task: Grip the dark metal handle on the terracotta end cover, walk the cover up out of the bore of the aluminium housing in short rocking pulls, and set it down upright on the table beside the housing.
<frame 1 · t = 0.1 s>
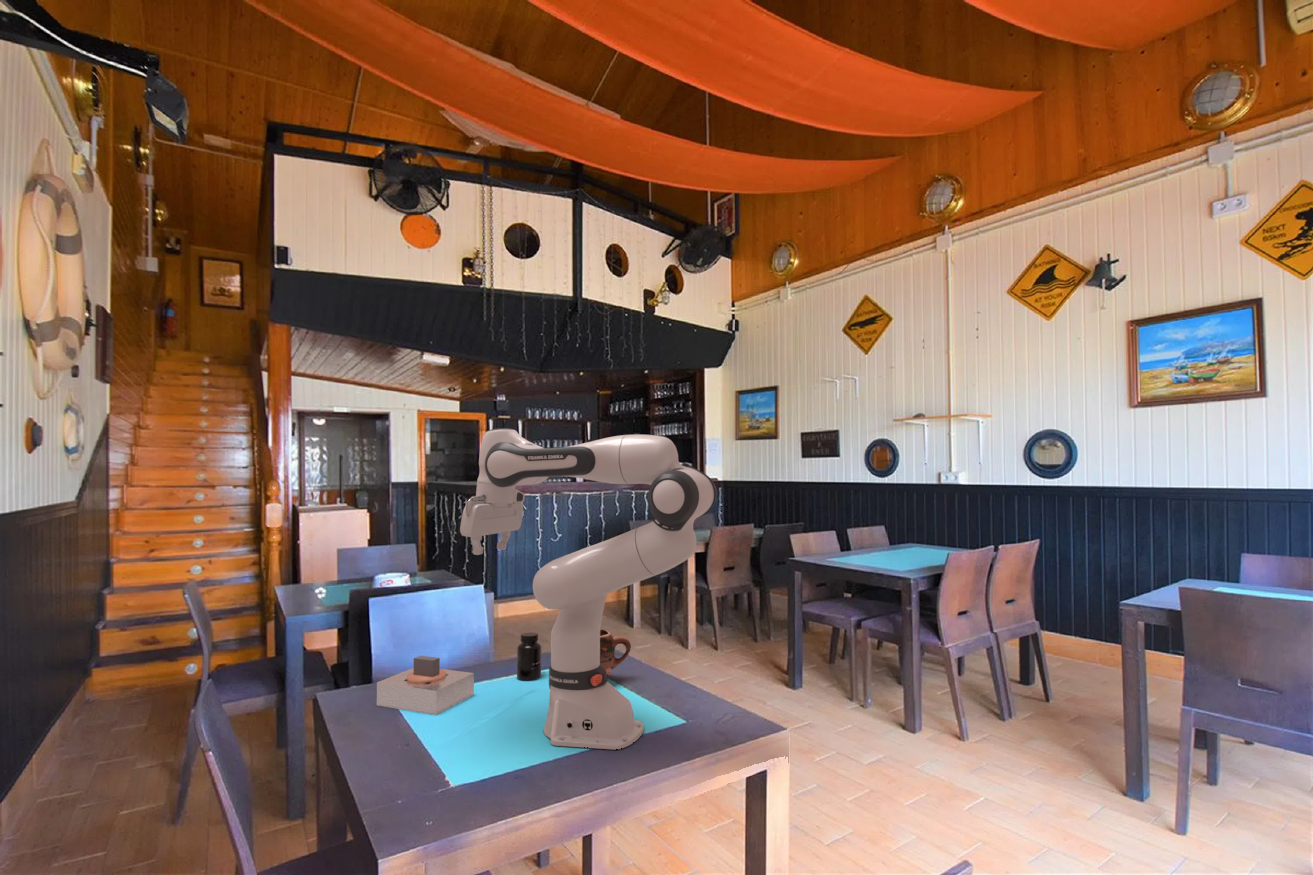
hand: (489, 551, 154), 39 cm above the table, tool pointing down, fingers open, 8 cm apart
housing: (426, 706, 159), on the table
end cover: (426, 699, 159), point 1 cm above the table, touching housing
supplement bottle: (529, 677, 181), on the table
brown ceramic cup shape: (595, 683, 176), on the table
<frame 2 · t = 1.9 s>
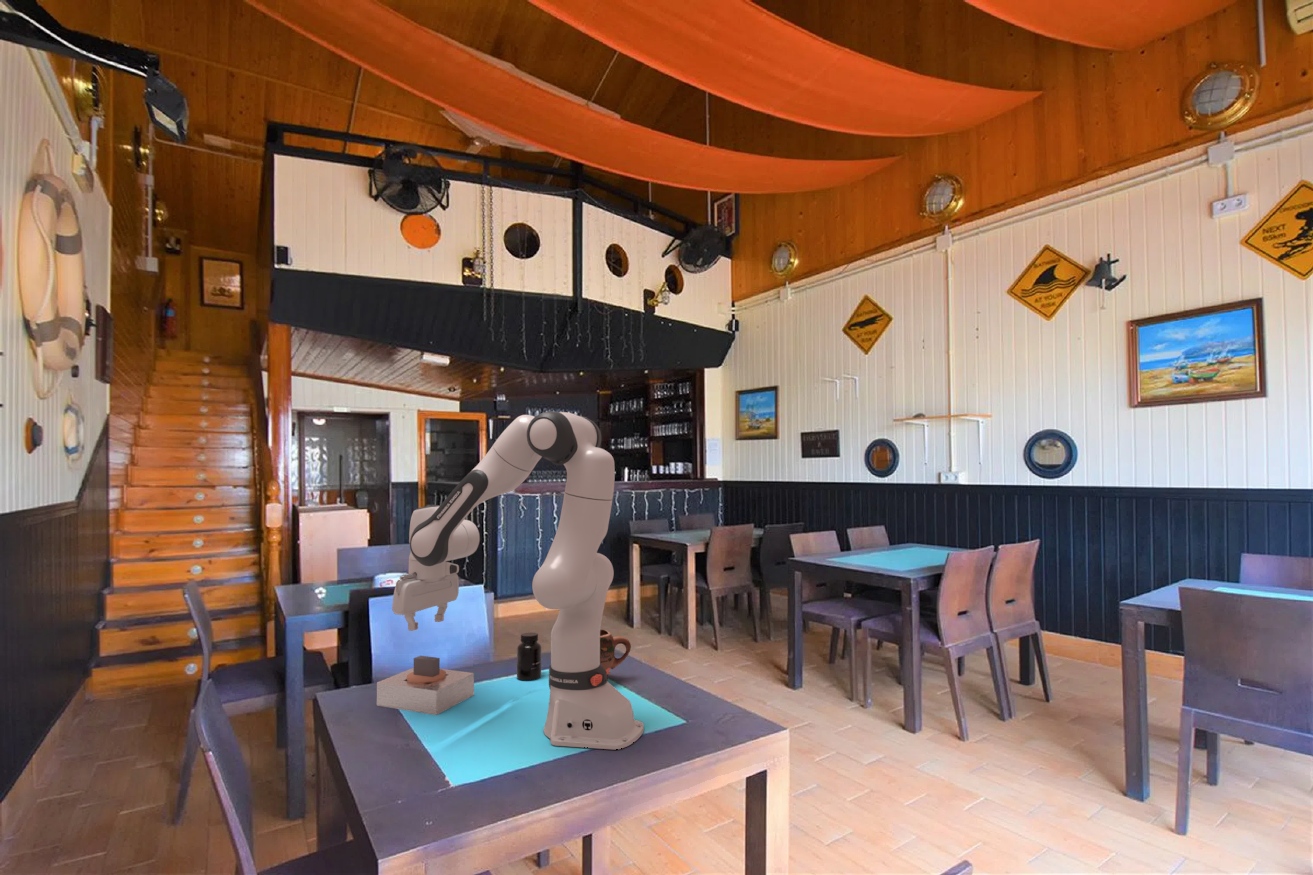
hand: (426, 625, 160), 20 cm above the table, tool pointing down, fingers open, 8 cm apart
nothing on the table moved.
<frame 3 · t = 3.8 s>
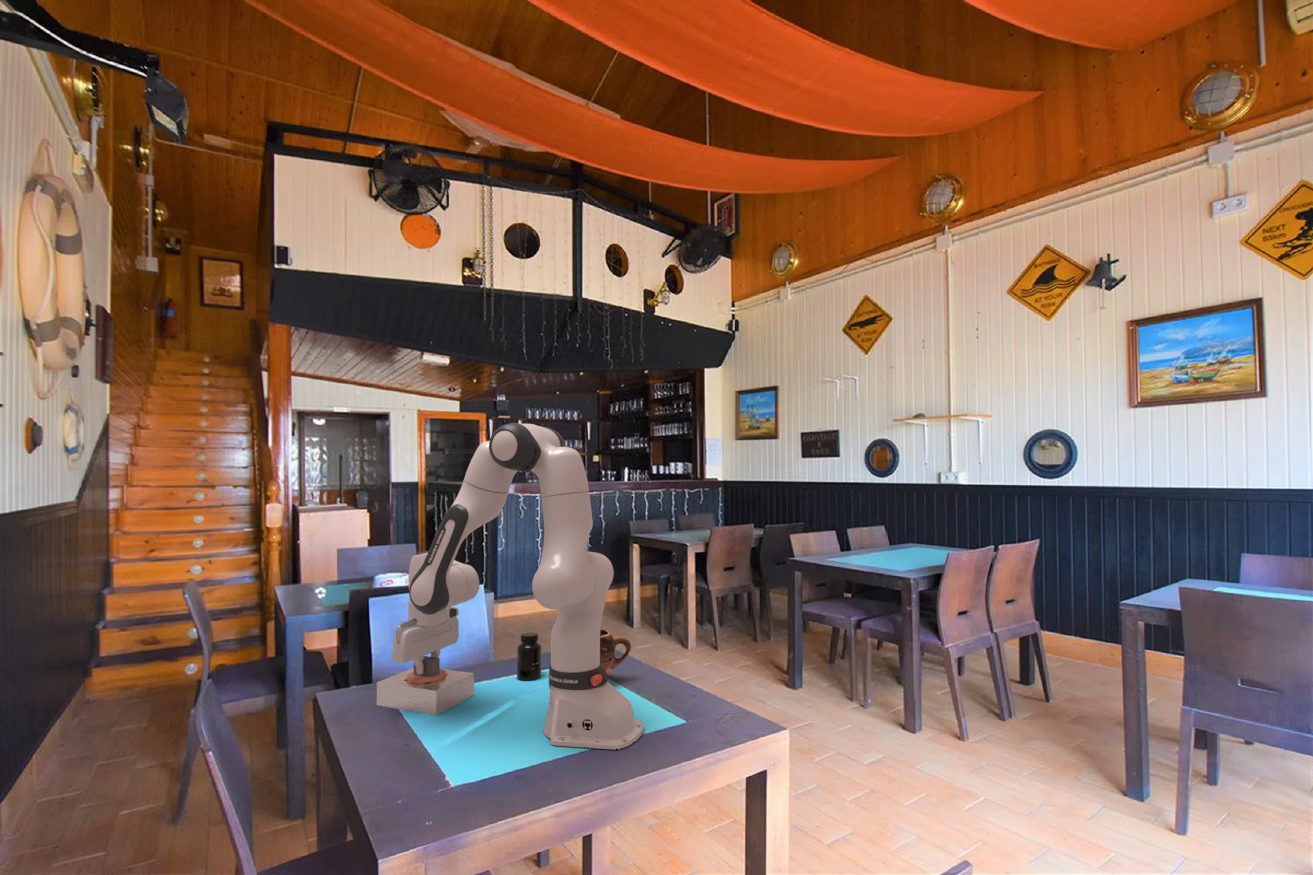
hand: (426, 671, 160), 9 cm above the table, tool pointing down, fingers closed on end cover, 2 cm apart
end cover: (426, 699, 159), point 1 cm above the table, touching gripper, housing
everything else where it was.
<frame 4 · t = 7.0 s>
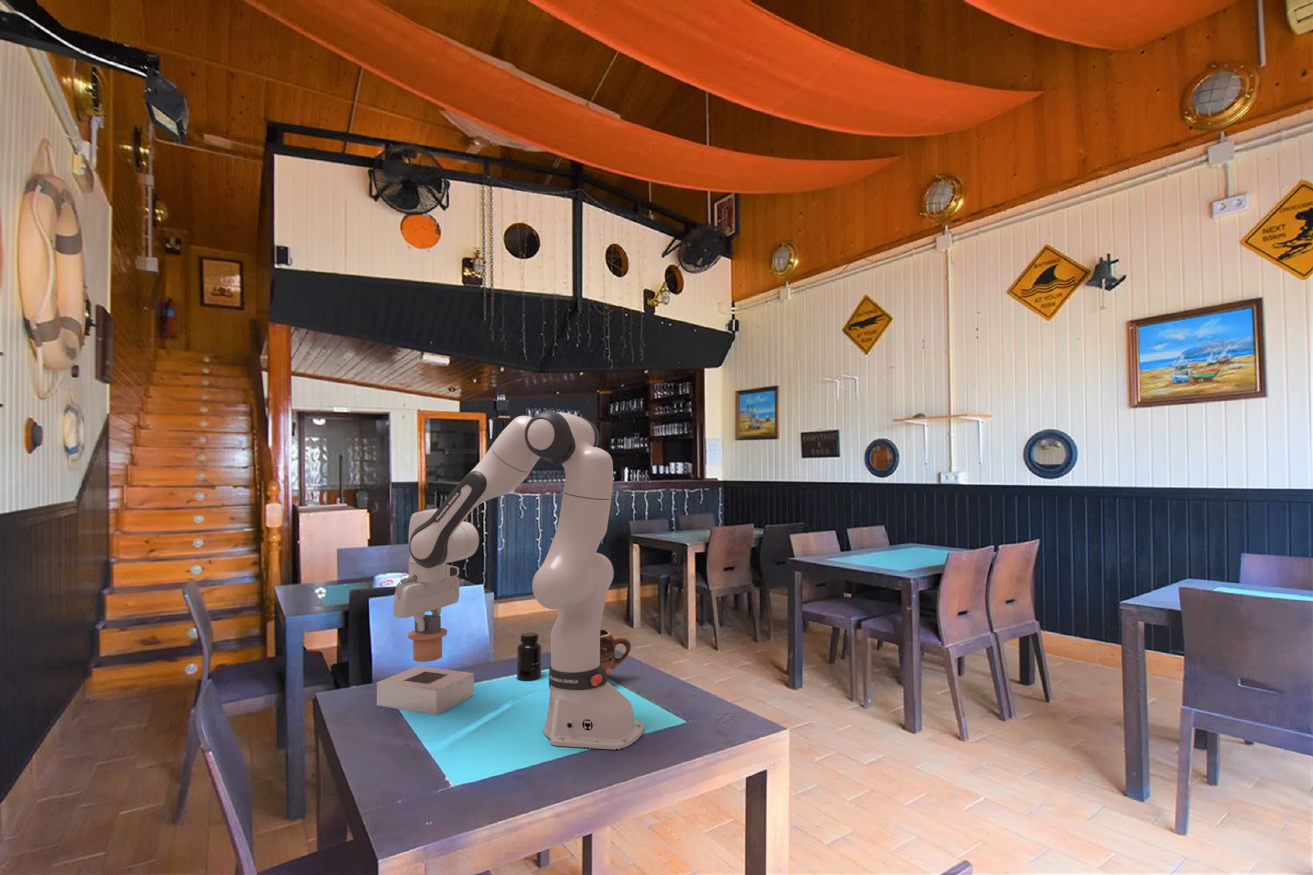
hand: (427, 628, 160), 19 cm above the table, tool pointing down, fingers closed on end cover, 2 cm apart
end cover: (427, 657, 160), point 12 cm above the table, touching gripper
everything else where it was.
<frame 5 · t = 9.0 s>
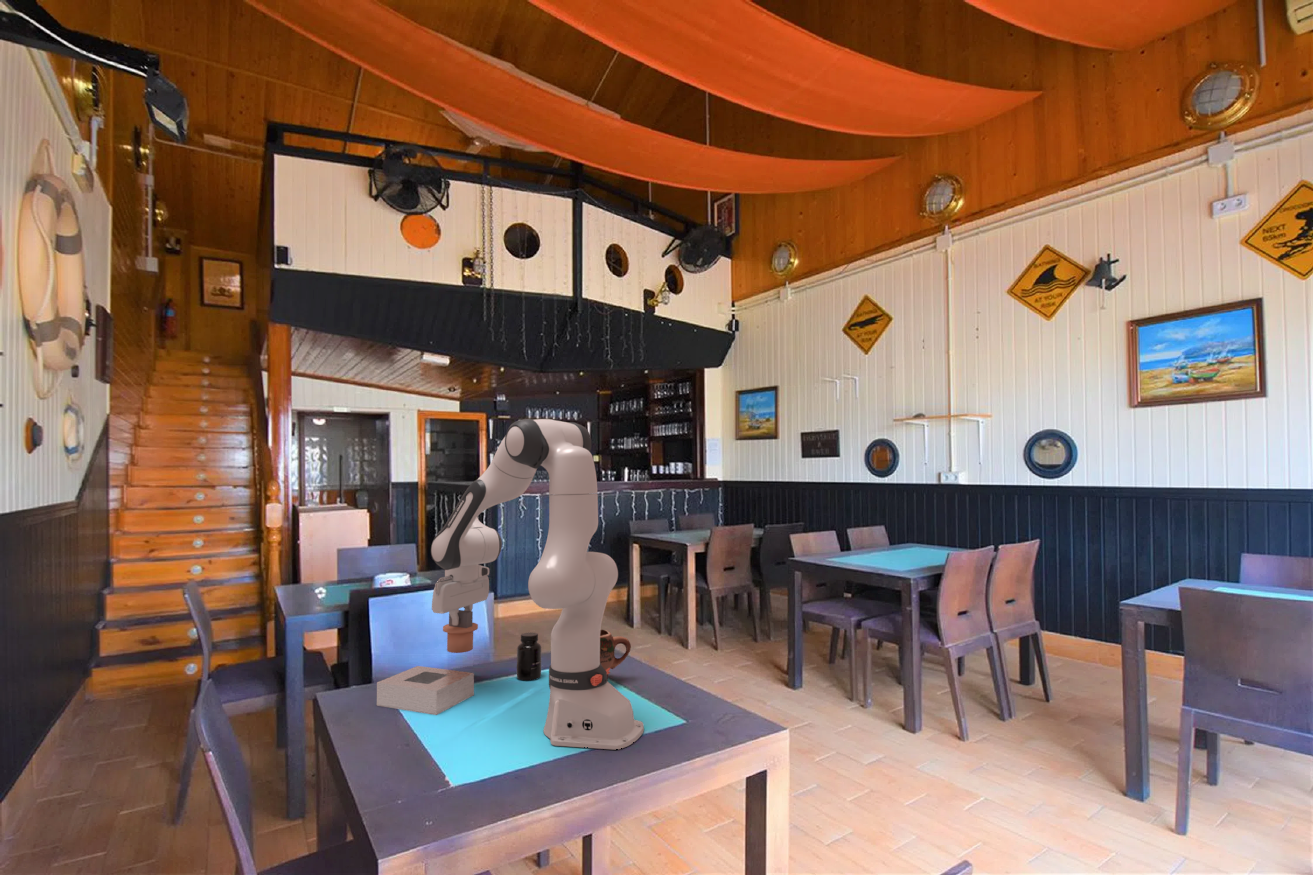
hand: (460, 623, 176), 17 cm above the table, tool pointing down, fingers closed on end cover, 2 cm apart
end cover: (460, 649, 176), point 10 cm above the table, touching gripper
everything else where it was.
when the fingers open (9 cm above the table, at t = 10.4 s): end cover drops 2 cm, on the table.
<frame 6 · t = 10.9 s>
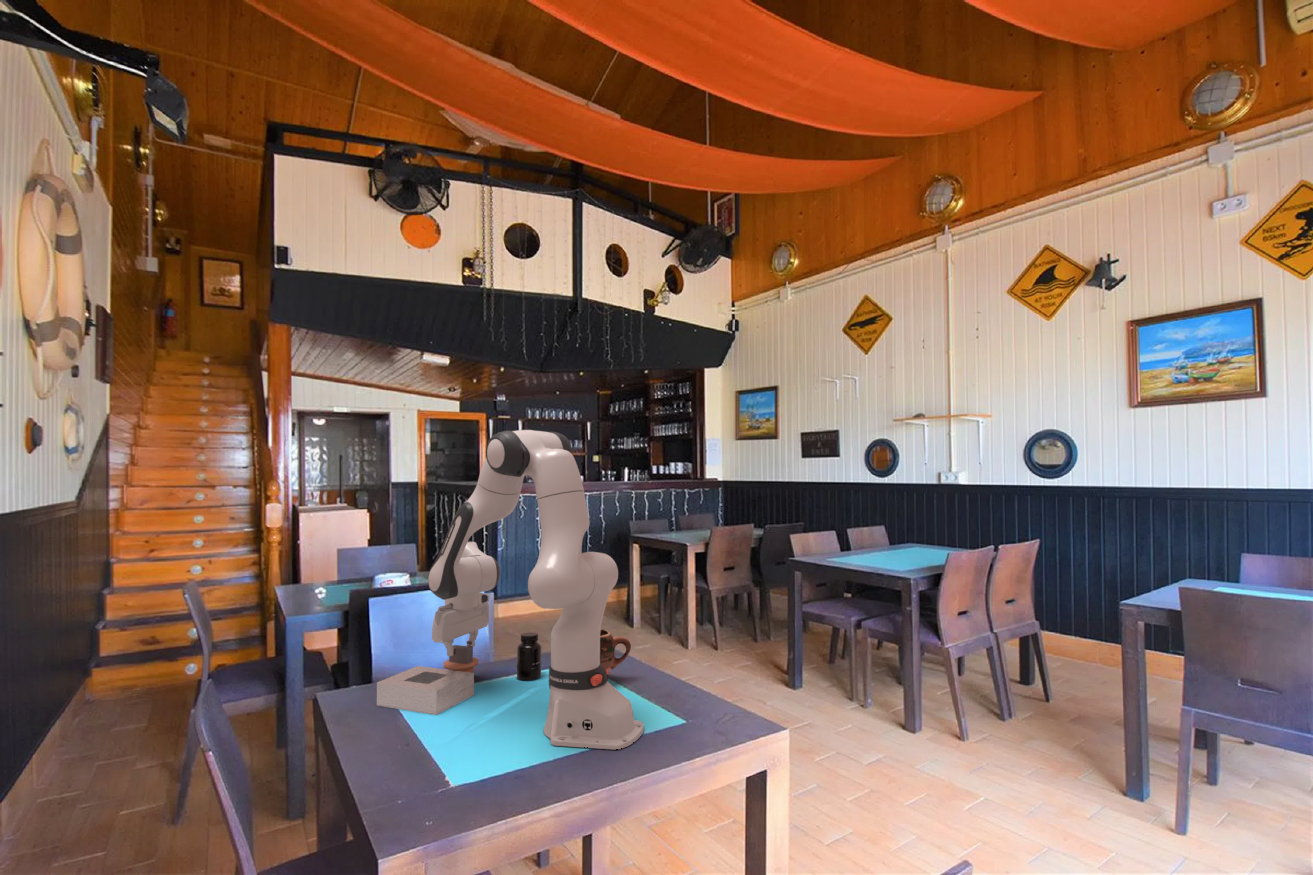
hand: (461, 651, 175), 9 cm above the table, tool pointing down, fingers open, 7 cm apart
end cover: (460, 685, 175), on the table
everything else where it was.
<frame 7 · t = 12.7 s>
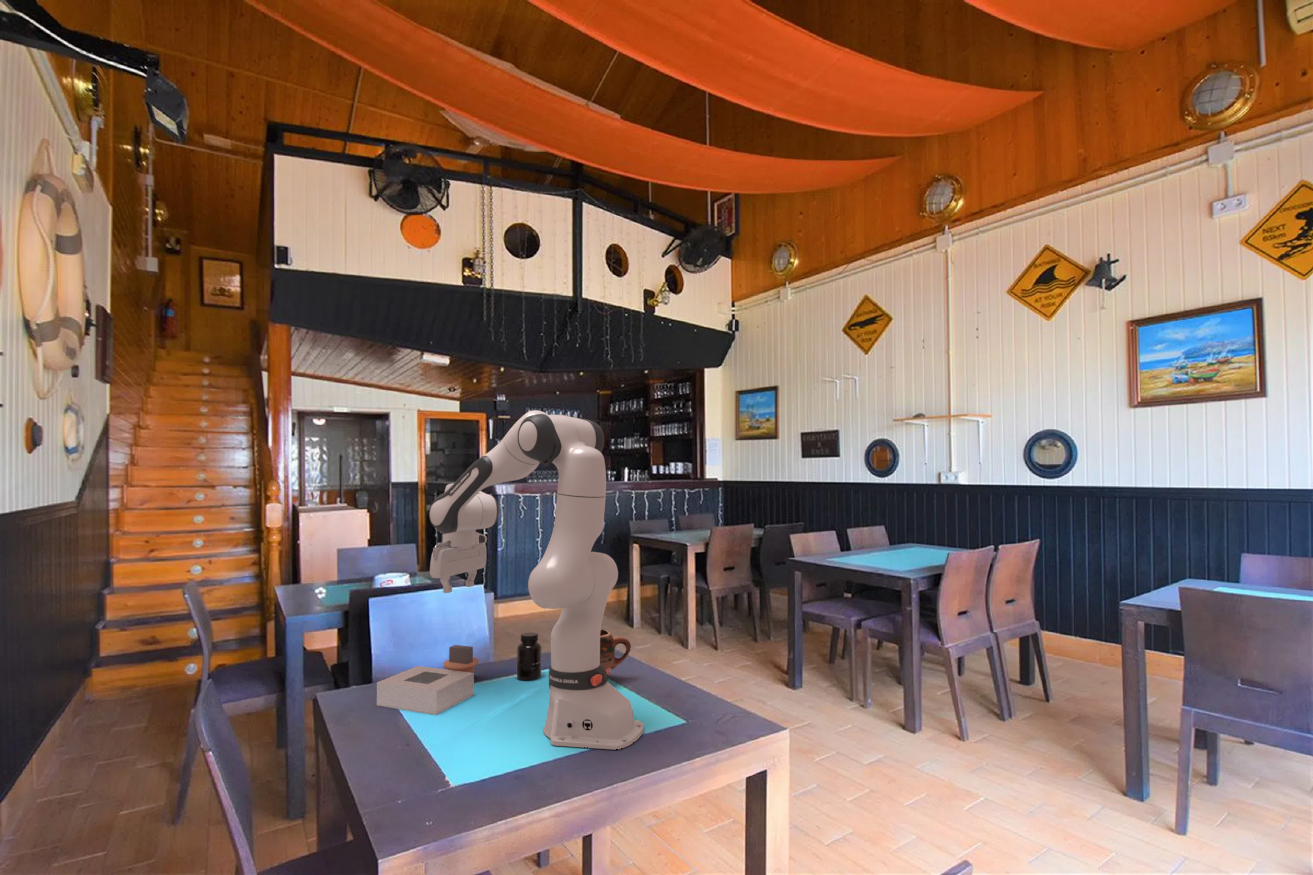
hand: (458, 589, 178), 26 cm above the table, tool pointing down, fingers open, 8 cm apart
nothing on the table moved.
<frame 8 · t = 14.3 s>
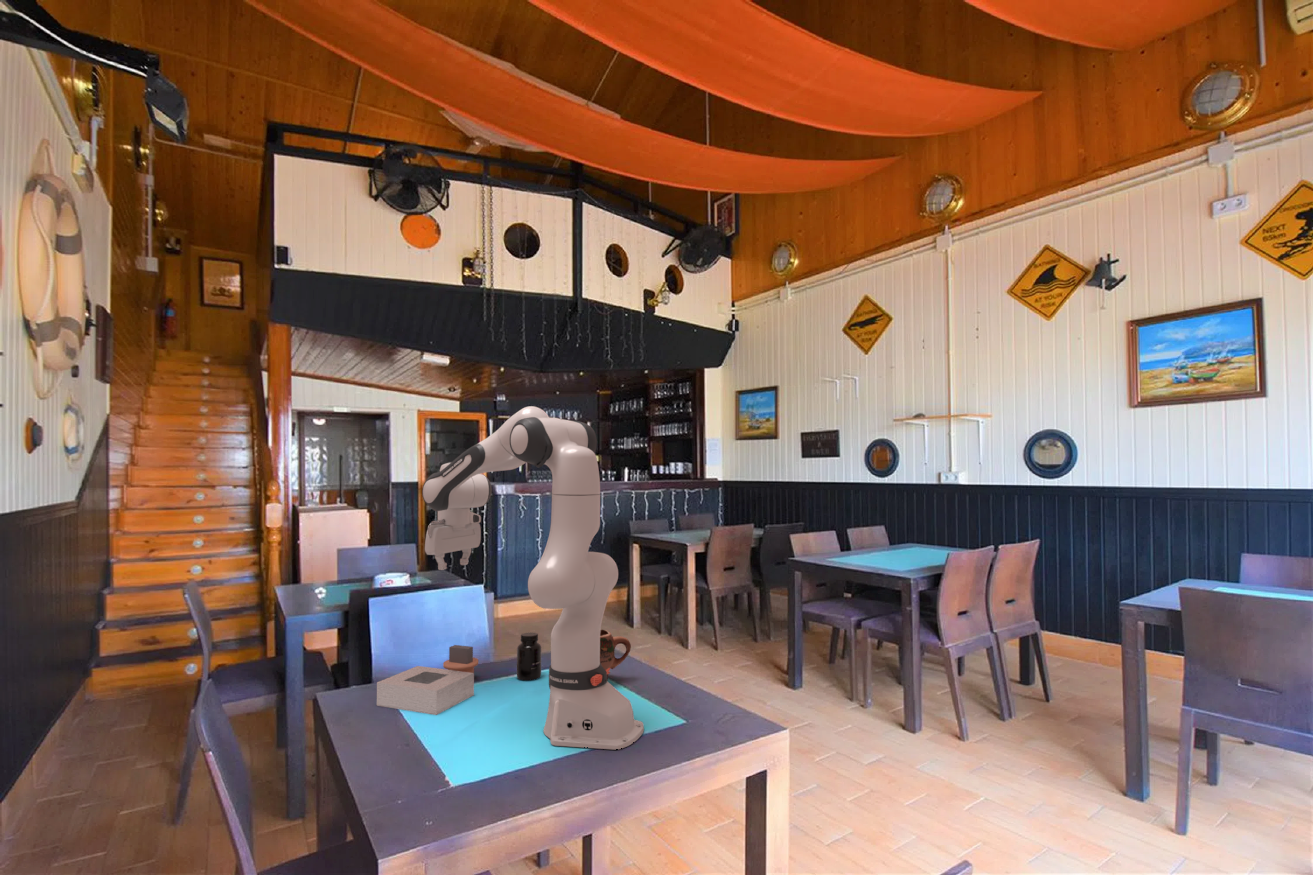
hand: (453, 567, 182), 31 cm above the table, tool pointing down, fingers open, 8 cm apart
nothing on the table moved.
at the end: end cover inside the target area (0.1 cm from its centre), on the table; end cover tilted 0°; end cover touching table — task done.
